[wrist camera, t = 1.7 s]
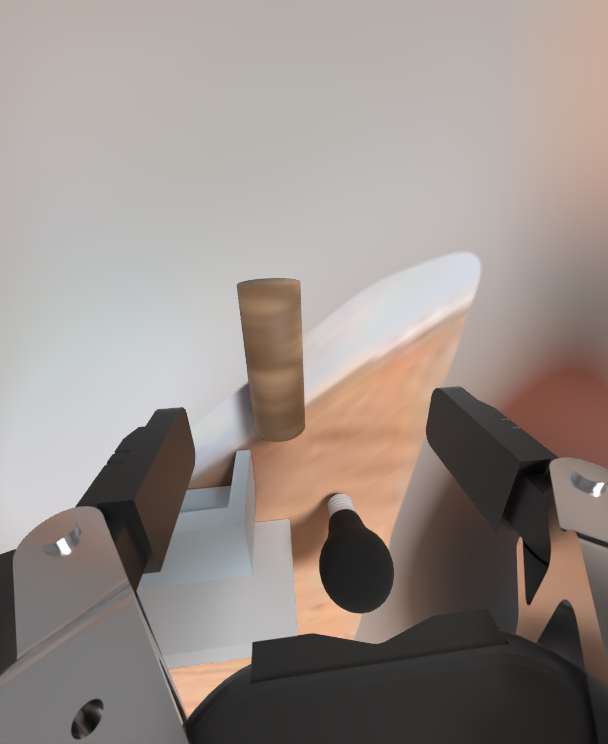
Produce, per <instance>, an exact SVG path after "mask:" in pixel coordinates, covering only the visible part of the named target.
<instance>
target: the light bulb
mask: <svg viewBox="0 0 608 744" xmlns="http://www.w3.org/2000/svg"><path fill="white" fill-rule="evenodd" d="M327 505H328V511H329V516H330V519H329V534H328V538H327V540H326V542H325V543H324V546H323V548H322V550H321V555H320V560H319V571H320V576H321V581H322V583H323V586H324V588H325V590H326V592H327V594H328V595H329V596H330V598H331V599H332V600H333V601H334V602H335V603H336V604H337V605H338V606H340V607H341V608H343V609H345V610H347V611H349V612H353V613H367V612H371V611H373V610H375V609H377V608H378V607H380V606H381V604H383V603H384V602H385V600H386V599H387V597H388V595H389V594H390V591H391V588H392V585H393V578H394V568H393V562H392V558H391V555H390V552H389V550H388V548H387V546H386V545H385V544H384V542H383V541H382V540H381V539H380V537H379V536H378V535H377V534H375V533H374V532H372V531H371V530H369V529H367V528H366V527H365V525H364V524H363V522H362V521H361V519H360V517H359V516H358V515H357V513H356V512H355V510H354V507H353V503H352V500H351V498H350V497H349V496H347V495H345V494H336V495H334V496H332V497H331V498H330V499H329V501H328V503H327Z"/></svg>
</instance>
